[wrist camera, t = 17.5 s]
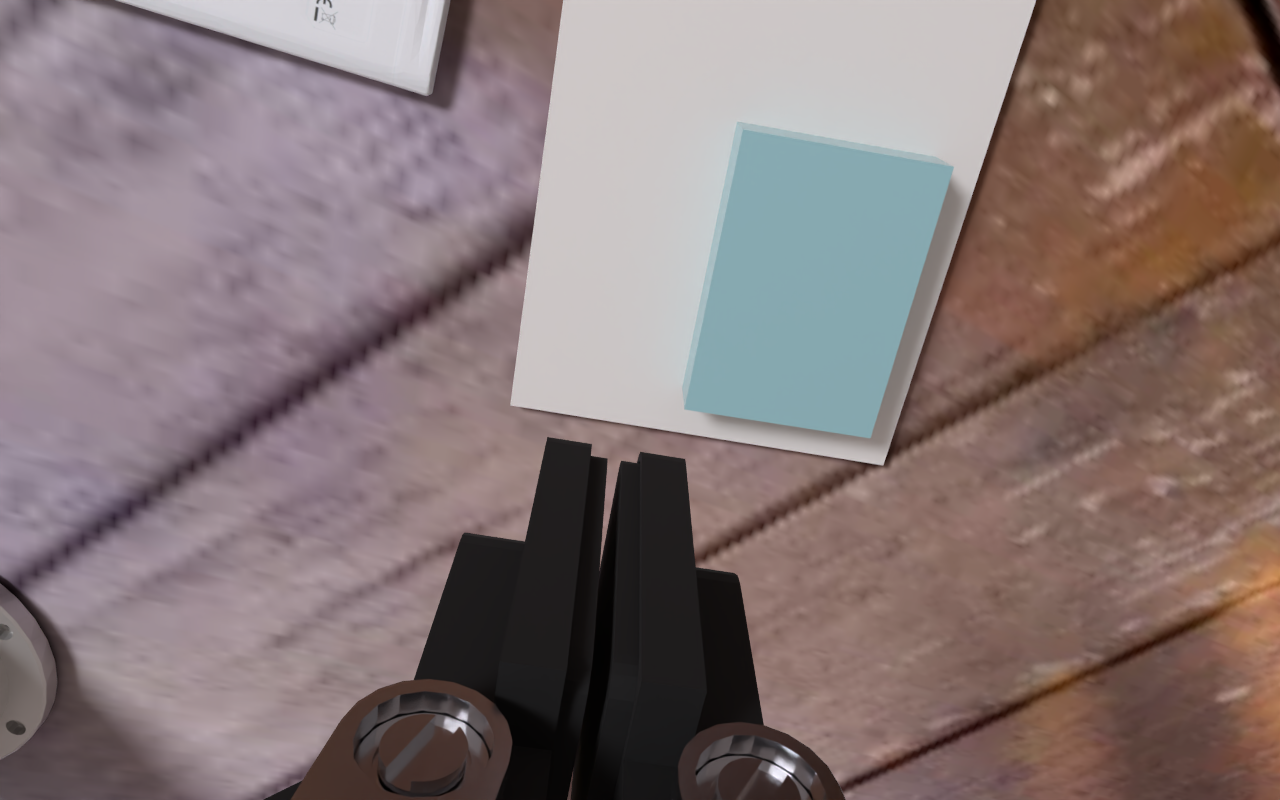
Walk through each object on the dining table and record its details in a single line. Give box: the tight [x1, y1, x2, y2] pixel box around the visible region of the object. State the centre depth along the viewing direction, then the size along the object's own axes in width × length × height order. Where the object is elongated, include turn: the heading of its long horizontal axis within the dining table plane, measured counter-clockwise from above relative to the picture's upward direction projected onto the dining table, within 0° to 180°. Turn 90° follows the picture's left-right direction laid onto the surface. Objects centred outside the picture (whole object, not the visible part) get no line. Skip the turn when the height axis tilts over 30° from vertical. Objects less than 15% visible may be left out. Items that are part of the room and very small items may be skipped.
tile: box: [682, 121, 954, 438], centre depth 32 cm, size 10×2×7 cm
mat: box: [510, 0, 1036, 465], centre depth 32 cm, size 18×15×1 cm
